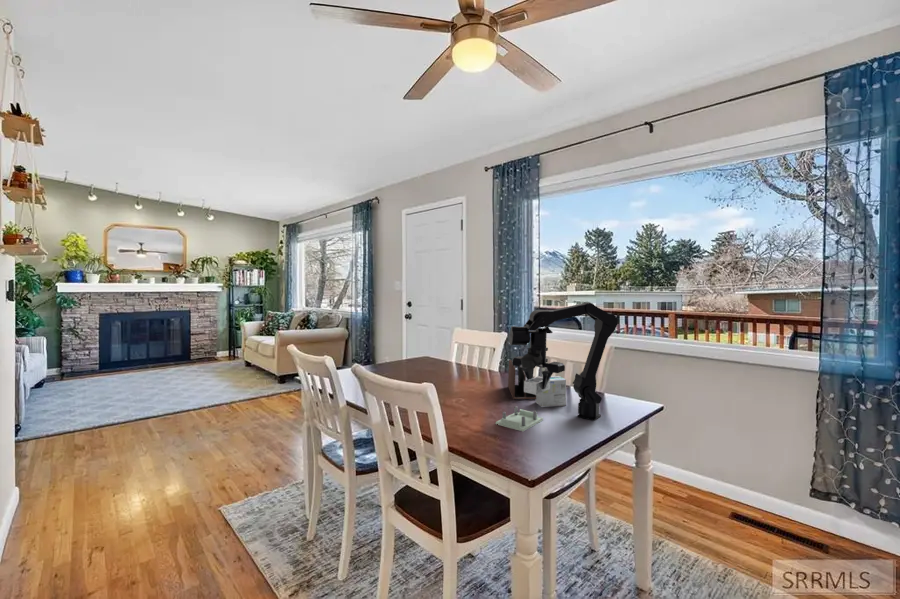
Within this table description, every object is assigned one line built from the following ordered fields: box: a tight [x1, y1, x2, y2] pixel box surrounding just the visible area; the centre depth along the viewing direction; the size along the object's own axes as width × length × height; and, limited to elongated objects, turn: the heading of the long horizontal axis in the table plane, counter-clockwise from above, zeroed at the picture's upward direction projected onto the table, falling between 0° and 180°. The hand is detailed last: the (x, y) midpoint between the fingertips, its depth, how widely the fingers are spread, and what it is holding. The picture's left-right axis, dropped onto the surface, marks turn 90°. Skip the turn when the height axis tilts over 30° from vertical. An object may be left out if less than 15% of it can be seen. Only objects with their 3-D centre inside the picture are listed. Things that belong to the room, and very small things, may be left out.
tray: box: [495, 405, 544, 432], centre depth 150 cm, size 11×14×4 cm
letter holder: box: [507, 359, 536, 400], centre depth 186 cm, size 10×20×14 cm, turn 178°
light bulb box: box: [535, 375, 567, 408], centre depth 170 cm, size 11×7×11 cm, turn 100°
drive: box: [524, 375, 550, 395], centre depth 153 cm, size 5×10×4 cm, turn 139°
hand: (537, 387), depth 153 cm, fingers closed on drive, 5 cm apart
